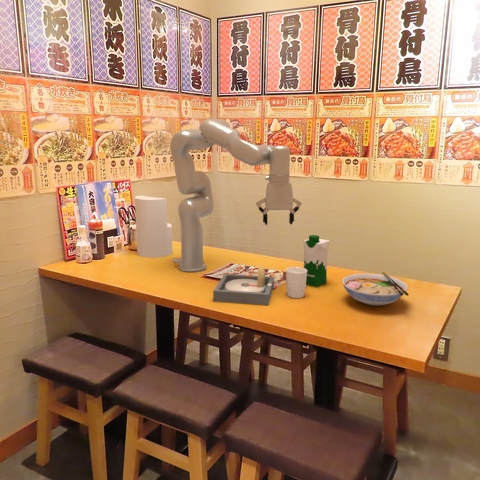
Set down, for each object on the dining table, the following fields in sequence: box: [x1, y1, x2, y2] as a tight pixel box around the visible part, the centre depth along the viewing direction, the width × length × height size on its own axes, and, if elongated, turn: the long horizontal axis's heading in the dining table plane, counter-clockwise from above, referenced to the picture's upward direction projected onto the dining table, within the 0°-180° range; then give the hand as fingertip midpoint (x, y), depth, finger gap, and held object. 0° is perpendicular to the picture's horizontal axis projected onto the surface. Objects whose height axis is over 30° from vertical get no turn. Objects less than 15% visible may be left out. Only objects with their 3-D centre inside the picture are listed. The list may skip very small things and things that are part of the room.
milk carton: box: [303, 234, 331, 288], centre depth 183 cm, size 9×9×20 cm
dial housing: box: [212, 273, 275, 306], centre depth 173 cm, size 20×20×4 cm
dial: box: [225, 267, 266, 293], centre depth 172 cm, size 15×15×9 cm
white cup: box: [285, 266, 307, 299], centre depth 171 cm, size 8×8×10 cm
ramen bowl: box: [342, 271, 409, 307], centre depth 165 cm, size 25×23×8 cm
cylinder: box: [134, 195, 173, 259], centre depth 224 cm, size 17×17×28 cm
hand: (278, 223), depth 175 cm, fingers open, 9 cm apart
